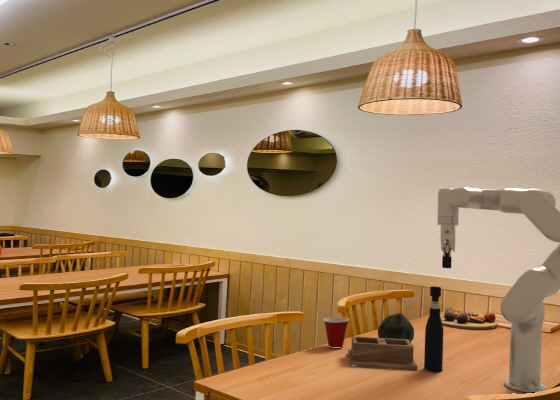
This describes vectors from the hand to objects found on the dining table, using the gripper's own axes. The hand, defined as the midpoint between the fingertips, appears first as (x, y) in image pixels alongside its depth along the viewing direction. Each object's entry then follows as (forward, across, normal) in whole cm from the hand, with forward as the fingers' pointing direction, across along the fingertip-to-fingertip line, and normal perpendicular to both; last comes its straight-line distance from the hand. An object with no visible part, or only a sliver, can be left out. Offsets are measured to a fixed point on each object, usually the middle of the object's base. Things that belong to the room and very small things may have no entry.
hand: (446, 266), depth 198 cm
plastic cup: (+37, +9, +43) cm, 58 cm away
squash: (+37, +24, +20) cm, 48 cm away
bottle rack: (+37, -4, +23) cm, 44 cm away
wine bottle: (+37, -6, +4) cm, 38 cm away
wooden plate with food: (+38, +89, -10) cm, 97 cm away
